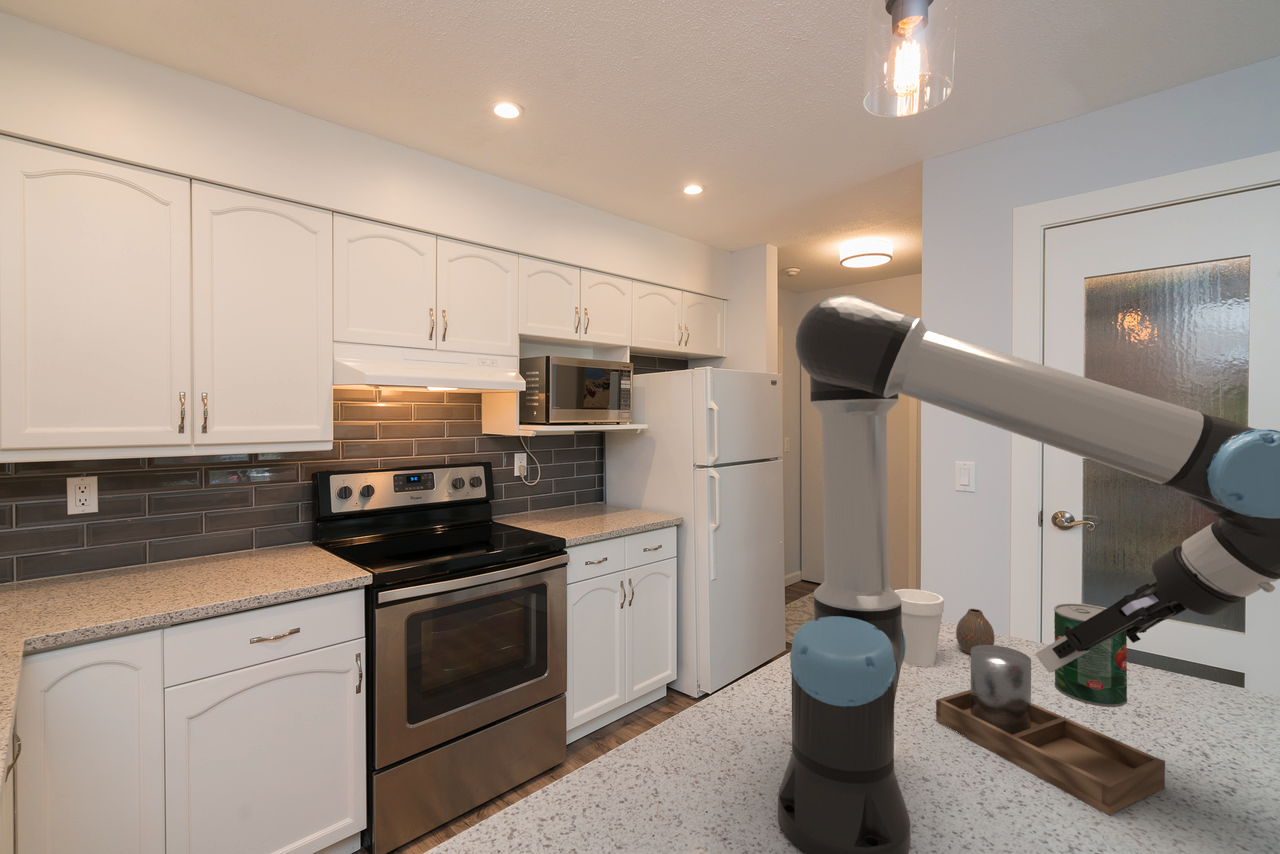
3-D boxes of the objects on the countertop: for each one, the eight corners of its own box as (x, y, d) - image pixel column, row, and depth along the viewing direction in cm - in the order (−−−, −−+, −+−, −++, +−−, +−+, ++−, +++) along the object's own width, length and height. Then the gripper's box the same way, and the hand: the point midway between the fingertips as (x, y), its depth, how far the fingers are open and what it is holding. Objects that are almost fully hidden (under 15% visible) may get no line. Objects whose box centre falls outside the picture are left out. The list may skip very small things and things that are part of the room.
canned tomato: (1143, 707, 76) (1143, 622, 75) (1081, 707, 76) (1081, 623, 76) (1096, 679, 84) (1096, 603, 83) (1041, 680, 84) (1040, 603, 84)
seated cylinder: (1029, 745, 85) (1030, 670, 85) (967, 728, 90) (967, 657, 90) (1031, 721, 92) (1032, 652, 92) (973, 707, 97) (973, 641, 96)
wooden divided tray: (1164, 787, 77) (1165, 761, 77) (1108, 815, 72) (1109, 787, 72) (988, 704, 99) (988, 684, 99) (936, 721, 94) (936, 699, 94)
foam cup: (932, 651, 122) (932, 589, 121) (951, 671, 112) (951, 604, 112) (885, 650, 122) (885, 588, 122) (900, 669, 113) (900, 602, 113)
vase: (964, 643, 126) (964, 602, 126) (999, 653, 121) (1000, 610, 120) (950, 651, 121) (950, 609, 121) (986, 662, 116) (986, 618, 116)
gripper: (1193, 613, 61) (1035, 699, 76) (1284, 587, 70) (1126, 669, 85) (1133, 552, 66) (995, 644, 81) (1225, 535, 74) (1085, 621, 89)
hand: (1062, 657), depth 83 cm, fingers closed on canned tomato, 8 cm apart
